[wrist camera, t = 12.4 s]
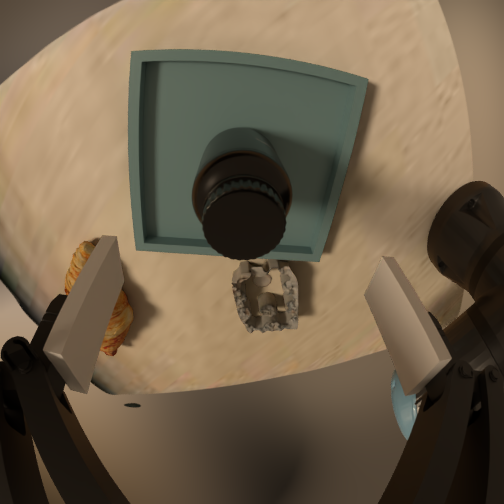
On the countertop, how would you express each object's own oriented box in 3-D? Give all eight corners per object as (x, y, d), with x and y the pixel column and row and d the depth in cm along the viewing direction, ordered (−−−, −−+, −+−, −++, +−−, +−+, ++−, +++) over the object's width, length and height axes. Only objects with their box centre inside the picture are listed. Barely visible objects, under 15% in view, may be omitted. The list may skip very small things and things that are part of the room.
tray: (358, 77, 22) (368, 78, 20) (314, 250, 34) (319, 261, 32) (139, 52, 19) (131, 51, 17) (140, 238, 31) (136, 250, 29)
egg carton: (228, 259, 34) (228, 283, 31) (292, 250, 34) (299, 273, 30) (241, 318, 40) (243, 341, 37) (294, 311, 40) (299, 334, 37)
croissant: (80, 218, 33) (33, 247, 26) (132, 244, 30) (79, 283, 24) (105, 326, 44) (75, 354, 38) (148, 355, 42) (118, 389, 36)
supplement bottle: (283, 132, 24) (322, 183, 15) (267, 198, 28) (289, 280, 19) (206, 120, 23) (190, 161, 14) (197, 189, 27) (180, 269, 17)
